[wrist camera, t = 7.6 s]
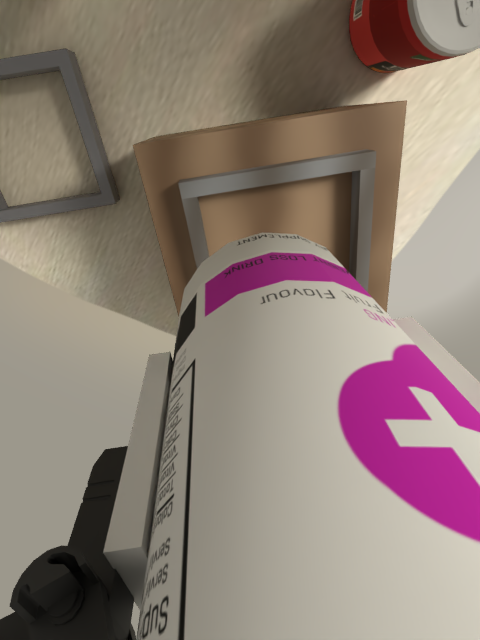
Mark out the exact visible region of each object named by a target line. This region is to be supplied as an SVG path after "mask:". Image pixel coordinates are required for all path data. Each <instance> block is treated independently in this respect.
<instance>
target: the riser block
mask: <svg viewBox="0 0 480 640" xmlns="http://www.w3.org/2000/svg"><path fill="white" fill-rule="evenodd" d="M406 105H407V101H396V102H385V103H374V104H363V105H351V106H341V107H335V108H329V109H323V110H317V111H310V112H304V113H298V114H292V115H286V116H280V117H273V118H267V119H261V120H255V121H249V122H243V123H236V124H230V125H224V126H218V127H212V128H206V129H199V130H193V131H187V132H181V133H175V134H169V135H162V136H156V137H153V138H150V139H148V140H145V141H142V142H140V143H137V144H134V145H133V148H134V152H135V156H136V159H137V163H138V167H139V170H140V174H141V178H142V182H143V185H144V189H145V193H146V197H147V200H148V204H149V208H150V211H151V215H152V219H153V223H154V226H155V230H156V234H157V237H158V241H159V245H160V249H161V252H162V256H163V260H164V264H165V267H166V271H167V275H168V278H169V282H170V286H171V290H172V293H173V297H174V301H175V304H176V308H177V312H178V316H179V314H180V309H181V304H182V298H183V293H184V289H185V287H186V286H187V284H188V283H189V281H190V280H191V278H192V276H193V275H194V273H195V272H196V270H197V269H198V267H199V266H200V264H201V263H202V262H203V261H205V260H206V259H207V258H209V257H210V256H211V255H213V254H214V253H215V252H217V251H218V250H219V249H221V248H222V247H224V246H225V245H226V244H228V243H229V242H233V241H236V240H239V239H243V238H246V237H249V236H253V235H256V234H259V233H281V234H297V235H299V236H301V237H304V238H306V239H308V240H310V241H313V242H315V243H317V244H319V245H322V246H324V247H326V248H327V249H328V250H329V251H330V253H331V254H332V255H333V256H334V257H335V258H336V259H337V260H338V261H339V262H340V263H341V264H342V265H343V267H344V268H345V269H346V270H347V271H348V272H349V273H350V274H351V275H352V276H353V277H354V278H355V279H356V281H357V282H358V283H359V284H360V285H361V286H362V287H363V288H364V289H365V290H366V291H367V292H368V294H369V295H370V296H371V297H372V298H373V299H374V300H375V301H376V302H377V303H378V304H379V305H380V306H381V308H382V309H383V310H384V311H385V312H386V313H387V302H388V292H389V282H390V271H391V261H392V250H393V240H394V230H395V219H396V209H397V198H398V188H399V178H400V167H401V157H402V146H403V136H404V126H405V115H406Z"/></svg>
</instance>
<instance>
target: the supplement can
mask: <svg viewBox="0 0 480 640" xmlns="http://www.w3.org/2000/svg"><path fill="white" fill-rule="evenodd" d="M137 640H480V413H479V412H478V411H477V410H476V409H475V408H474V407H473V406H472V405H471V404H470V403H469V401H468V400H467V399H466V398H465V397H464V396H463V395H462V394H461V393H460V392H459V391H458V390H457V388H456V387H455V386H454V385H453V384H452V383H451V382H450V381H449V380H448V379H447V378H446V377H445V376H444V374H443V373H442V372H441V371H440V370H439V369H438V368H437V367H436V366H435V365H434V364H433V363H432V362H431V360H430V359H429V358H428V357H427V356H426V355H425V354H424V353H423V352H422V351H421V350H420V349H419V347H418V346H417V345H416V344H415V343H414V342H413V341H412V340H411V339H410V338H409V337H408V336H407V335H406V333H405V332H404V331H403V330H402V329H401V328H400V327H399V326H398V325H397V324H396V323H395V322H394V321H393V319H392V318H391V317H390V316H389V315H388V314H387V313H386V312H385V311H384V310H383V309H382V308H381V306H380V305H379V304H378V303H377V302H376V301H375V300H374V299H373V298H372V297H371V296H370V295H369V294H368V292H367V291H366V290H365V289H364V288H363V287H362V286H361V285H360V284H359V283H358V282H357V281H356V279H355V278H354V277H353V276H352V275H351V274H350V273H349V272H348V271H347V270H346V269H345V268H344V267H343V265H342V264H341V263H340V262H339V261H338V260H337V259H336V258H335V257H334V256H333V255H332V254H331V253H330V251H329V250H328V249H327V248H326V247H324V246H322V245H319V244H317V243H315V242H313V241H310V240H308V239H306V238H304V237H301V236H299V235H297V234H281V233H259V234H256V235H253V236H249V237H246V238H243V239H239V240H236V241H233V242H229V243H228V244H226V245H225V246H224V247H222V248H221V249H219V250H218V251H217V252H215V253H214V254H213V255H211V256H210V257H209V258H207V259H206V260H205V261H203V262H202V263H201V264H200V266H199V267H198V269H197V270H196V272H195V273H194V275H193V276H192V278H191V280H190V281H189V283H188V284H187V286H186V287H185V289H184V293H183V298H182V304H181V309H180V314H179V320H178V328H177V336H176V343H175V351H174V358H173V367H172V375H171V383H170V390H169V398H168V406H167V413H166V421H165V428H164V436H163V444H162V451H161V459H160V467H159V474H158V482H157V490H156V497H155V505H154V513H153V520H152V528H151V536H150V543H149V551H148V558H147V564H146V571H145V579H144V586H143V594H142V602H141V609H140V617H139V625H138V632H137Z"/></svg>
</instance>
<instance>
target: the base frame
mask: <svg viewBox="0 0 480 640" xmlns="http://www.w3.org/2000/svg"><path fill="white" fill-rule="evenodd" d="M59 70H60V71H61V74H62V77H63V80H64V83H65V86H66V89H67V92H68V95H69V98H70V101H71V104H72V107H73V110H74V113H75V116H76V119H77V122H78V125H79V128H80V131H81V134H82V137H83V140H84V143H85V146H86V149H87V152H88V155H89V158H90V161H91V164H92V167H93V170H94V173H95V176H96V179H97V182H98V185H99V188H100V191H101V192H97V193H91V194H85V195H79V196H72V197H66V198H60V199H54V200H48V201H42V202H36V203H29V204H23V205H17V206H11V207H8V205H7V203H6V201H5V199H4V197H3V195H2V193H1V191H0V222H6V221H13V220H19V219H25V218H31V217H37V216H43V215H49V214H55V213H62V212H68V211H74V210H80V209H86V208H92V207H98V206H104V205H110V204H116V203H117V202H118V201H119V200H120V198H119V195H118V192H117V189H116V185H115V182H114V179H113V176H112V172H111V169H110V166H109V163H108V159H107V156H106V153H105V150H104V146H103V143H102V140H101V137H100V133H99V130H98V127H97V124H96V121H95V117H94V114H93V111H92V108H91V104H90V101H89V98H88V95H87V91H86V88H85V85H84V82H83V78H82V75H81V72H80V69H79V65H78V62H77V59H76V56H75V53H74V52H72V51H70V50H68V49H60V50H54V51H47V52H41V53H35V54H29V55H22V56H16V57H10V58H4V59H0V80H3V79H9V78H15V77H21V76H28V75H34V74H40V73H46V72H53V71H59Z"/></svg>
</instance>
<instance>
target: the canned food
mask: <svg viewBox="0 0 480 640" xmlns="http://www.w3.org/2000/svg"><path fill="white" fill-rule="evenodd" d="M349 32H350V39H351V43H352V46H353V49H354V51H355V53H356V55H357V56H358V58H359V59H360V60H361V61H362V62H363V64H365V65H366V66H367V67H369V68H370V69H372V70H374V71H377V72H382V73H389V72H395V71H399V70H403V69H408V68H412V67H416V66H420V65H425V64H429V63H433V62H437V61H441V60H446V59H450V58H454V57H457V56H461V55H465V54H467V53H469V52H471V51H474V50H476V49H478V48H480V0H353V2H352V5H351V10H350V17H349Z"/></svg>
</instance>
